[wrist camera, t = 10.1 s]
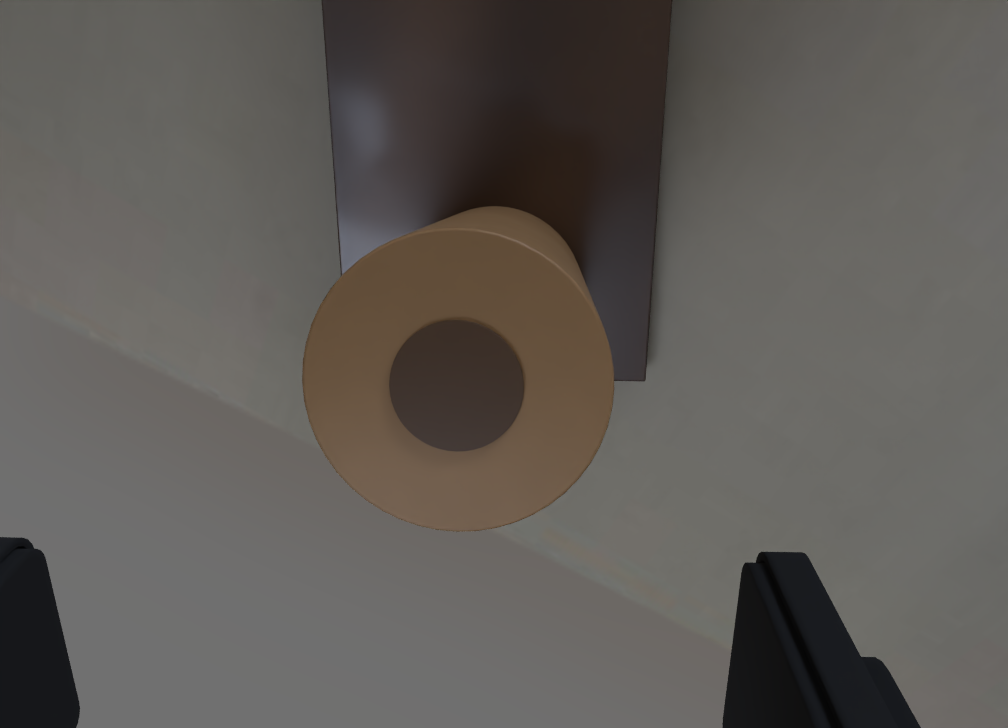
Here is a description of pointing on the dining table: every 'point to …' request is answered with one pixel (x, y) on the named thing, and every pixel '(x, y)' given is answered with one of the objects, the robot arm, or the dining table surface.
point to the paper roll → (461, 372)
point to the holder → (507, 131)
